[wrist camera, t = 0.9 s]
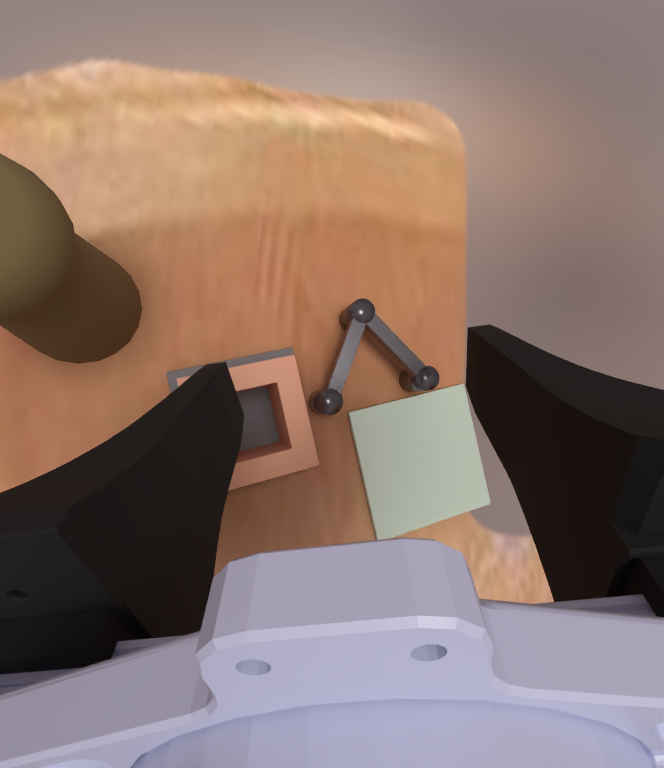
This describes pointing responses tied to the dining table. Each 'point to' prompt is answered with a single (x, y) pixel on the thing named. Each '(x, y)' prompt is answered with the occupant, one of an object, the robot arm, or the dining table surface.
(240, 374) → the tan square ring block
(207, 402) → the robot arm
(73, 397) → the dining table surface
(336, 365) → the grey v-shaped linkage
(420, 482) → the pad
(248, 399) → the mat
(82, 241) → the olive green pawn
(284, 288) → the dining table surface
